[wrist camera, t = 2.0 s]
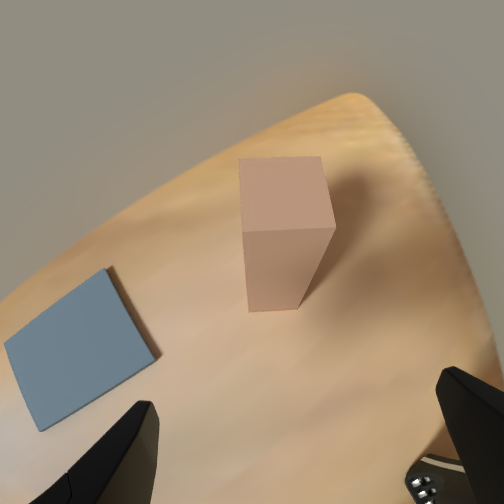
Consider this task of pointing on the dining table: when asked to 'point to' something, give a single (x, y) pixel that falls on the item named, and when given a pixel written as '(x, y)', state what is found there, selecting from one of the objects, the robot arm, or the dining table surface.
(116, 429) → the robot arm
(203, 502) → the dining table surface
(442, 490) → the battery charger
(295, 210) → the block
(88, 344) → the mat
